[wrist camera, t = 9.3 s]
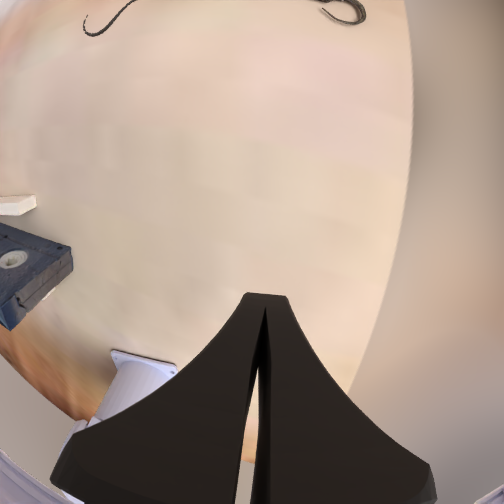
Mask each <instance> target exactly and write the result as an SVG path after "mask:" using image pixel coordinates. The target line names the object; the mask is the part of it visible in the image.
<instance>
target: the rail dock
mask: <svg viewBox="0 0 504 504" xmlns="http://www.w3.org/2000/svg"><path fill="white" fill-rule="evenodd" d="M35 207H37V205H36V198H35V195H22V196H6V197H0V215H19V216H20V215H22V214H23V213H25V212H27V211H29V210H31V209H33V208H35ZM55 289H56V288H55V287H54V288H53V289H52V290H51V291H50V292H48V294H47V295H46V296H45V297H44V298H43V299H42V300H41V301H44V300H45V299H46V298H47V297H48V296H49V295H50V294H51V293H52V292H53V291H54V290H55Z"/></svg>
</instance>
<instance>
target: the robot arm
mask: <svg viewBox="0 0 504 504" xmlns="http://www.w3.org/2000/svg"><path fill="white" fill-rule="evenodd" d="M111 356H112V358H113V361H114V363H115V366H116V368H117V371H118V372H117V374H116V376H115V377H114V379H113V381H112V383H111V385H110V387H109V388H108V390H107V392H106V394H105V396H104V398H103V400H102V402H101V404H100V406H99V407H98V409H97V411H96V413H95V415H94V417H92V418H91V420H90V422H89V424H88V425H87V423H88V422H87V421H85V420H84V419H83V420H80V421H76V422H75V424H74V425H73V427H72V429H71V430H70V432H69V434H68V436H67V438H66V440H65V442H64V444H63V446H62V449H61V451H60V454H59V457H58V461H57V463H56V465H55V467H54V470H53V472H52V474H51V476H50V481H51V483H52V484H53V485H55V486H56V487H58V488H59V489H61V490H62V492H63V493H64V495H65V496H66V498H65V497H63V496H61V495H60V494H58V493H57V492H55V491H53V490H52V489H50V488H49V487H47V486H46V485H44V484H43V483H41V482H40V481H39V480H37V479H36V478H34V477H33V476H32V475H30V474H29V473H28V472H26V471H25V470H24V469H22V468H21V467H20V466H18V465H17V464H16V463H15V462H14V461H12V460H11V459H10V458H9V456H8V455H7V454H6V453H5V452H4V451H2V450H1V449H0V504H235V498H236V491H237V484H238V476H239V469H240V461H241V453H242V446H243V438H244V431H245V425H246V420H247V415H248V411H249V407H250V402H251V398H252V393H253V388H254V384H255V379H256V375H257V370H258V393H259V426H258V440H257V450H256V459H255V468H254V476H253V484H252V492H251V500H250V504H434V503H435V502H436V501H437V494H436V488H435V482H434V478H433V475H432V472H431V469H430V465H429V464H428V463H426V462H424V461H423V460H422V459H420V458H419V457H417V456H416V455H414V454H413V453H411V452H409V451H408V450H407V449H405V448H404V447H402V446H401V445H399V444H398V443H397V442H395V441H394V440H393V439H392V438H391V437H389V436H388V435H387V434H385V433H384V432H383V431H382V430H381V429H380V428H379V427H378V426H376V425H375V424H374V423H373V422H372V421H371V420H370V419H369V418H368V417H367V416H366V415H365V414H364V413H363V412H362V411H361V410H360V409H359V408H358V407H357V406H356V405H355V404H354V403H353V402H352V401H351V400H350V398H349V397H348V396H347V395H346V394H345V393H344V391H343V390H342V389H341V388H340V387H339V385H338V384H337V383H336V382H335V380H334V379H333V378H332V377H331V375H330V374H329V373H328V371H327V370H326V368H325V367H324V366H323V364H322V363H321V361H320V360H319V358H318V357H317V355H316V353H315V352H314V350H313V349H312V347H311V345H310V344H309V342H308V340H307V338H306V337H305V335H304V333H303V331H302V329H301V328H300V326H299V324H298V322H297V320H296V317H295V315H294V313H293V311H292V309H291V306H290V303H289V301H288V299H287V297H286V296H282V295H271V294H260V293H250V292H247V293H245V294H244V295H243V297H242V299H241V301H240V303H239V305H238V306H237V308H236V309H235V311H234V312H233V314H232V315H231V317H230V318H229V319H228V321H227V322H226V323H225V325H224V326H223V327H222V328H221V330H220V331H219V332H218V333H217V335H216V336H215V337H214V338H213V339H212V340H211V341H210V342H209V343H208V345H207V346H206V347H205V348H204V349H203V350H202V351H201V352H200V353H199V354H198V355H197V356H196V357H195V358H194V359H193V360H192V361H191V362H190V363H189V364H188V365H186V366H185V367H184V368H183V369H182V370H181V371H180V372H178V370H177V367H176V366H175V365H173V364H169V363H165V362H160V361H155V360H151V359H147V358H142V357H138V356H134V355H130V354H127V353H123V352H119V351H116V350H112V351H111ZM474 504H504V484H503V485H502V486H500V487H499V488H497V489H495V490H494V491H492V492H491V493H489V494H487V495H485V496H484V497H482V498H481V499H479V500H477V501H475V502H474Z"/></svg>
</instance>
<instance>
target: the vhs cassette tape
mask: <svg viewBox="0 0 504 504" xmlns="http://www.w3.org/2000/svg"><path fill="white" fill-rule="evenodd" d="M70 250H71V247H69V246H65V245H62V244H59V243H56V242H53V241H50V240H47V239H44V238H42V237H39V236H36V235H33V234H30V233H27V232H25V231H22V230H19V229H16V228H14V227H11V226H8V225H6V224H3V223H0V324H1V325H3V326H4V327H5V328H7V329H8V330H9V331H11V330H12V329H13V328H14V327H15V326H16V325H17V324H18V323H19V322H20V321H21V320H22V319H23V318H24V317H25V316H26V312H30V311H31V310H32V309H33V308H34V307H35V306H36V305H37V304H38V302H40V301H41V300H42V299H43V298H44V297H45V296H46V295H47V294H48V292H50V291H51V290H52V289H53V288H54V287H55V286H56V285H58V284H59V283H60V282H61V281H62V280H63V279H64V278H65V277H66V276H68V275H69V274H70V273H71V272H72V271H73V262H72V256H71V251H70Z"/></svg>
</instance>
